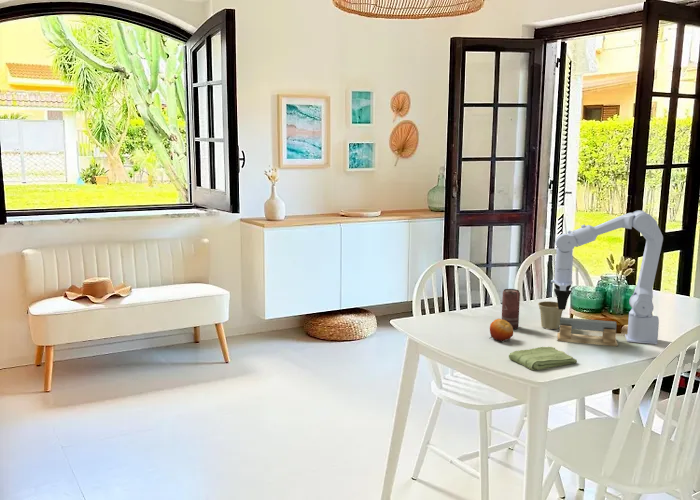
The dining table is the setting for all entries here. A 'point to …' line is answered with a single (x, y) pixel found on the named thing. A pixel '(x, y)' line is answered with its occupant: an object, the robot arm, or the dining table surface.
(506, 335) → the fruit
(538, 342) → the dining table surface
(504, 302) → the can
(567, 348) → the dining table surface
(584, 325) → the rail
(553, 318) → the flower pot
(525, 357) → the washcloth
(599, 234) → the robot arm
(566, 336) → the tan piece
